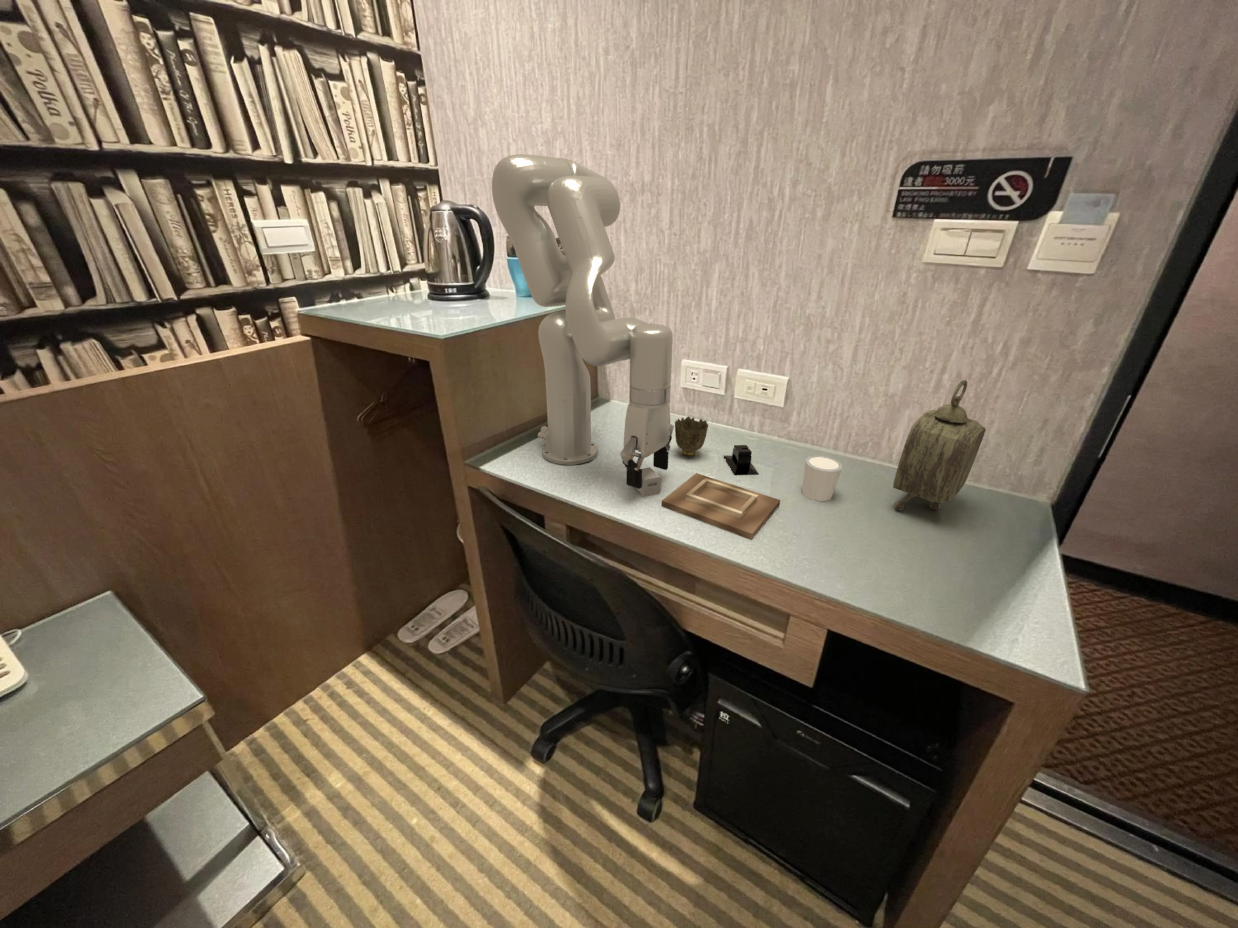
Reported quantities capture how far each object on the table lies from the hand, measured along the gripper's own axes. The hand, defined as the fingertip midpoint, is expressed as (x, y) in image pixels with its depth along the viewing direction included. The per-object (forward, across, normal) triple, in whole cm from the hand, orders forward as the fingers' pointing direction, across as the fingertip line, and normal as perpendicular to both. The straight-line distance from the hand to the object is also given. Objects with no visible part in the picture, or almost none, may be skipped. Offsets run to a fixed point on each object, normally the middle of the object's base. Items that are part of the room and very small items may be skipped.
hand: (647, 476), depth 100 cm
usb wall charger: (+3, 0, -1) cm, 3 cm away
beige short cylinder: (+4, -19, +28) cm, 34 cm away
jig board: (+3, -3, +15) cm, 15 cm away
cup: (+3, -19, -1) cm, 19 cm away
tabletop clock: (+4, -27, +46) cm, 54 cm away
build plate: (+4, -22, +11) cm, 25 cm away
